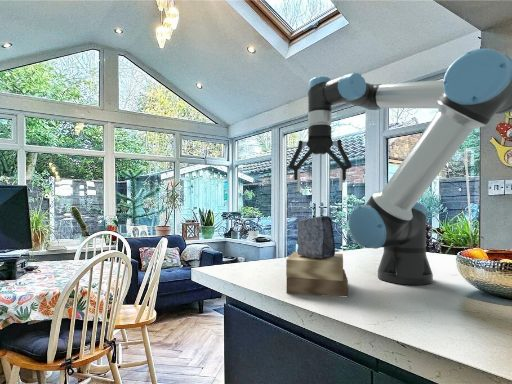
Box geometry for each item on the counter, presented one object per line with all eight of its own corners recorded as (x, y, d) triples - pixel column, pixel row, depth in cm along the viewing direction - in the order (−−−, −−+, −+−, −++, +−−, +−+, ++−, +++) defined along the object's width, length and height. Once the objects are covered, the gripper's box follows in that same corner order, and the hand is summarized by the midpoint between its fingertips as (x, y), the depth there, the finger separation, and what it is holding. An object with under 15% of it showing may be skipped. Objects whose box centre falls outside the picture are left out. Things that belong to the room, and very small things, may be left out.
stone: (342, 263, 93) (328, 256, 85) (308, 266, 98) (292, 260, 90) (338, 220, 98) (324, 210, 90) (306, 225, 103) (290, 216, 95)
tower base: (344, 284, 99) (344, 269, 99) (347, 299, 84) (347, 281, 85) (291, 282, 102) (291, 266, 102) (286, 295, 87) (286, 278, 87)
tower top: (342, 269, 98) (342, 253, 98) (343, 280, 85) (343, 262, 85) (293, 267, 102) (293, 251, 102) (286, 277, 88) (286, 259, 88)
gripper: (357, 127, 116) (357, 190, 115) (283, 129, 120) (282, 190, 120) (360, 122, 108) (360, 190, 108) (280, 124, 113) (280, 189, 112)
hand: (319, 190), depth 114 cm, fingers open, 13 cm apart
